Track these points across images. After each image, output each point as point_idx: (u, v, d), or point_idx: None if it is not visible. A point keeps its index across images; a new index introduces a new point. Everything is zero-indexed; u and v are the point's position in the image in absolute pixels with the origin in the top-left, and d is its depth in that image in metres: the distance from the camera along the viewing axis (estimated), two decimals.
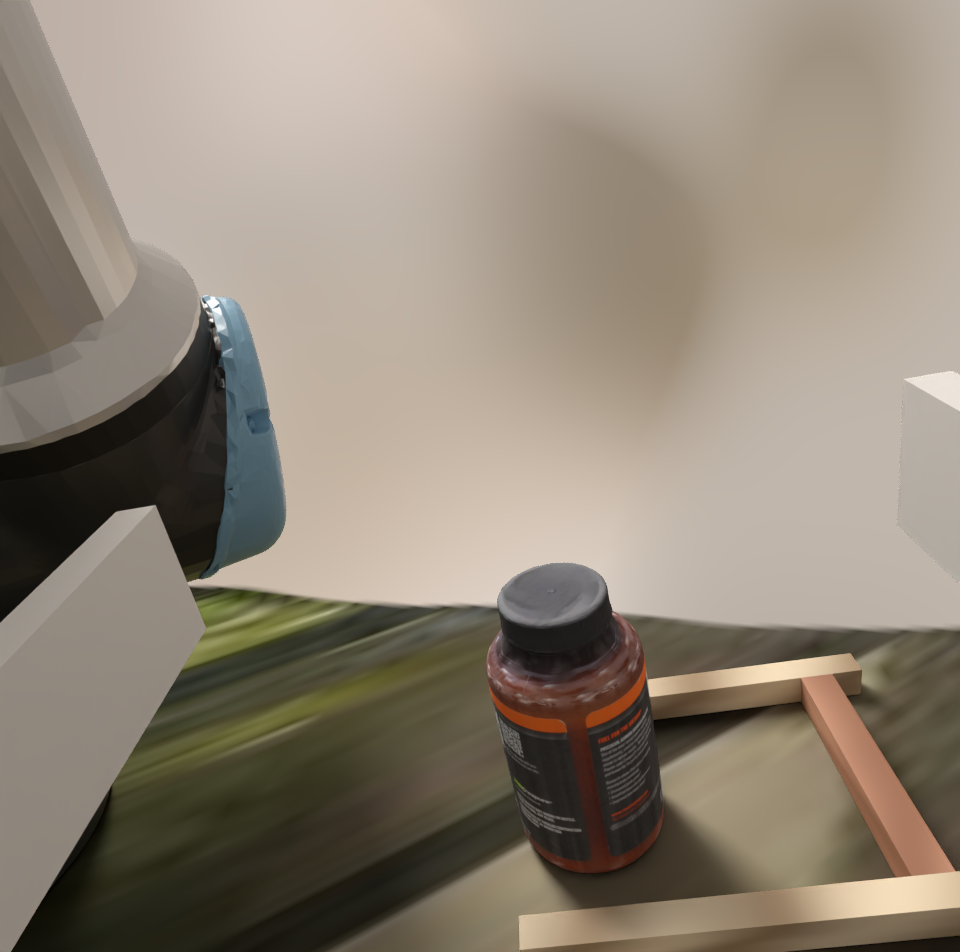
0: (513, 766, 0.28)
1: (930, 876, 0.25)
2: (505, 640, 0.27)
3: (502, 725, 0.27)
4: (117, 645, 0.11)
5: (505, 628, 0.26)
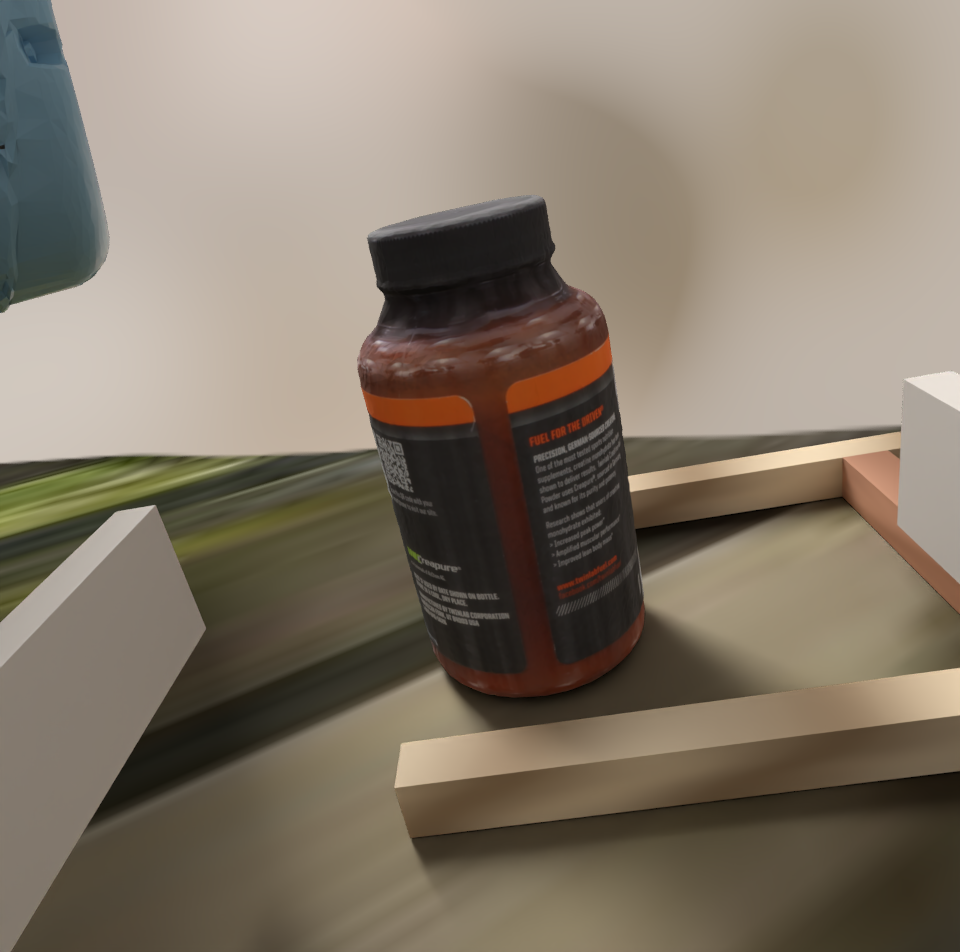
0: (403, 523, 0.17)
1: None
2: (383, 305, 0.17)
3: (381, 447, 0.17)
4: (117, 645, 0.11)
5: (377, 267, 0.16)
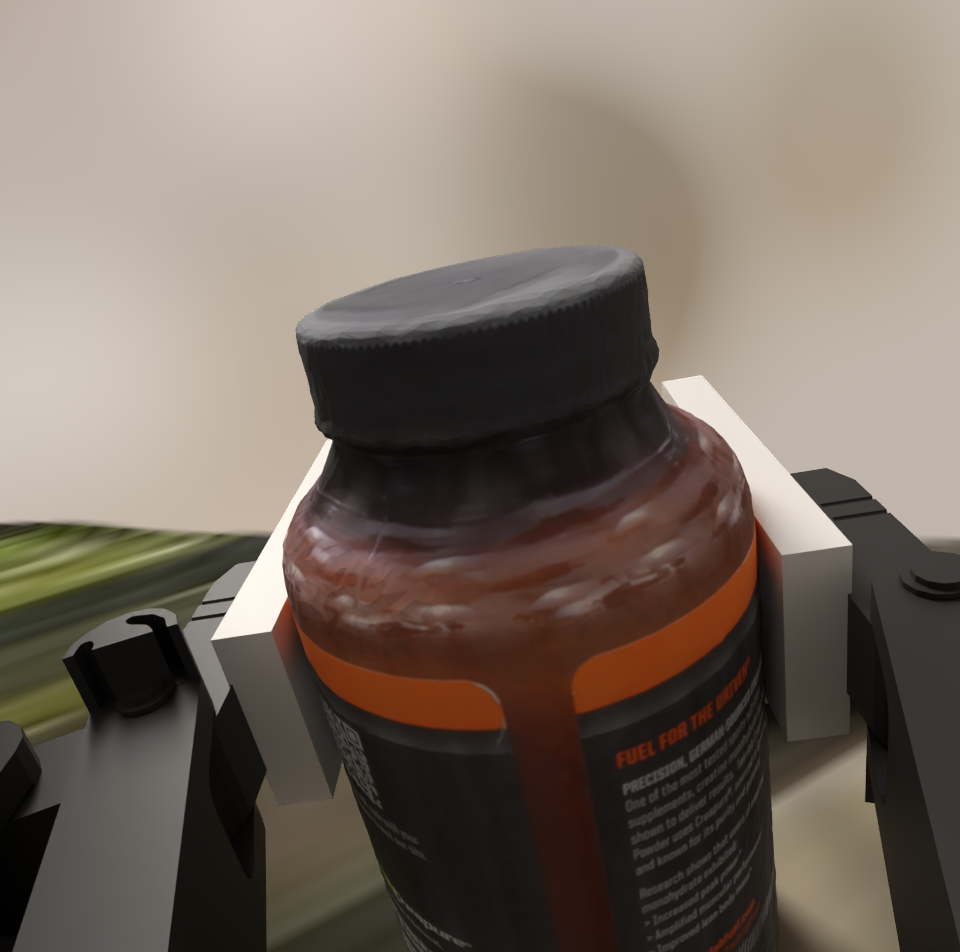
0: (367, 829, 0.10)
1: None
2: (330, 449, 0.09)
3: (325, 710, 0.09)
4: None
5: (312, 390, 0.08)
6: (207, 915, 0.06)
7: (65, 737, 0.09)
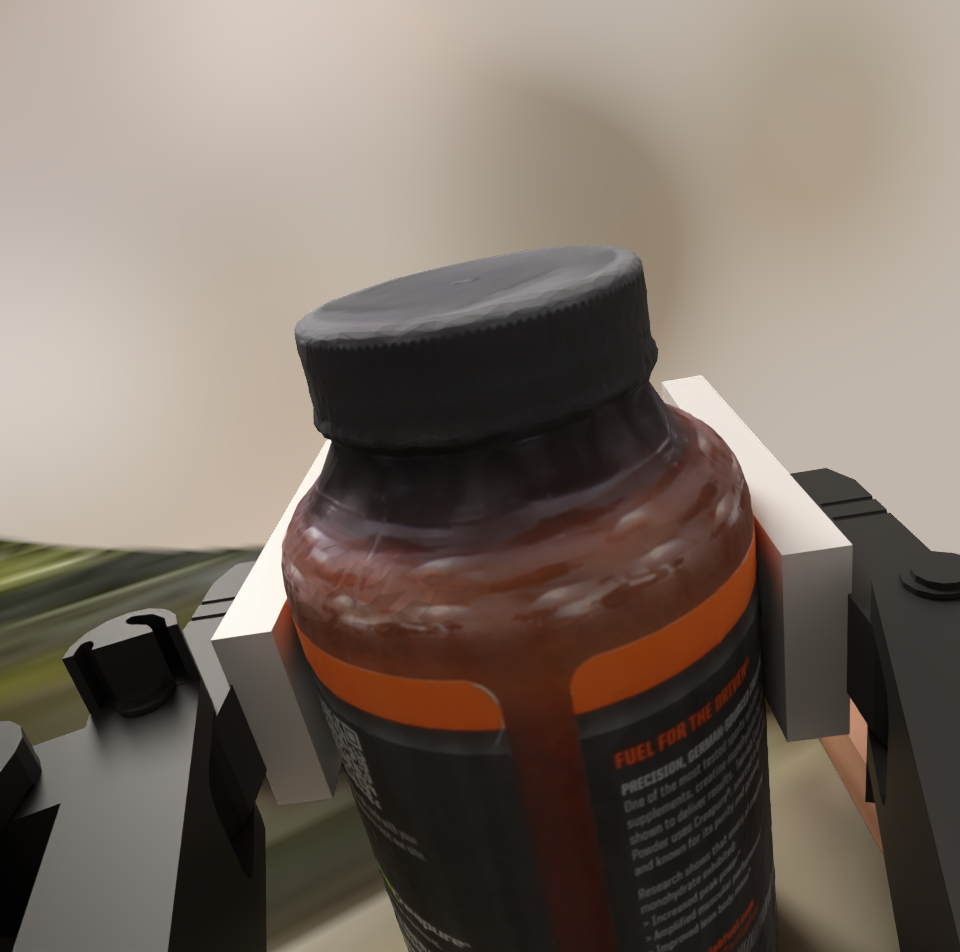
0: (367, 829, 0.10)
1: None
2: (329, 450, 0.09)
3: (324, 710, 0.09)
4: None
5: (311, 390, 0.08)
6: (207, 915, 0.06)
7: (65, 737, 0.09)
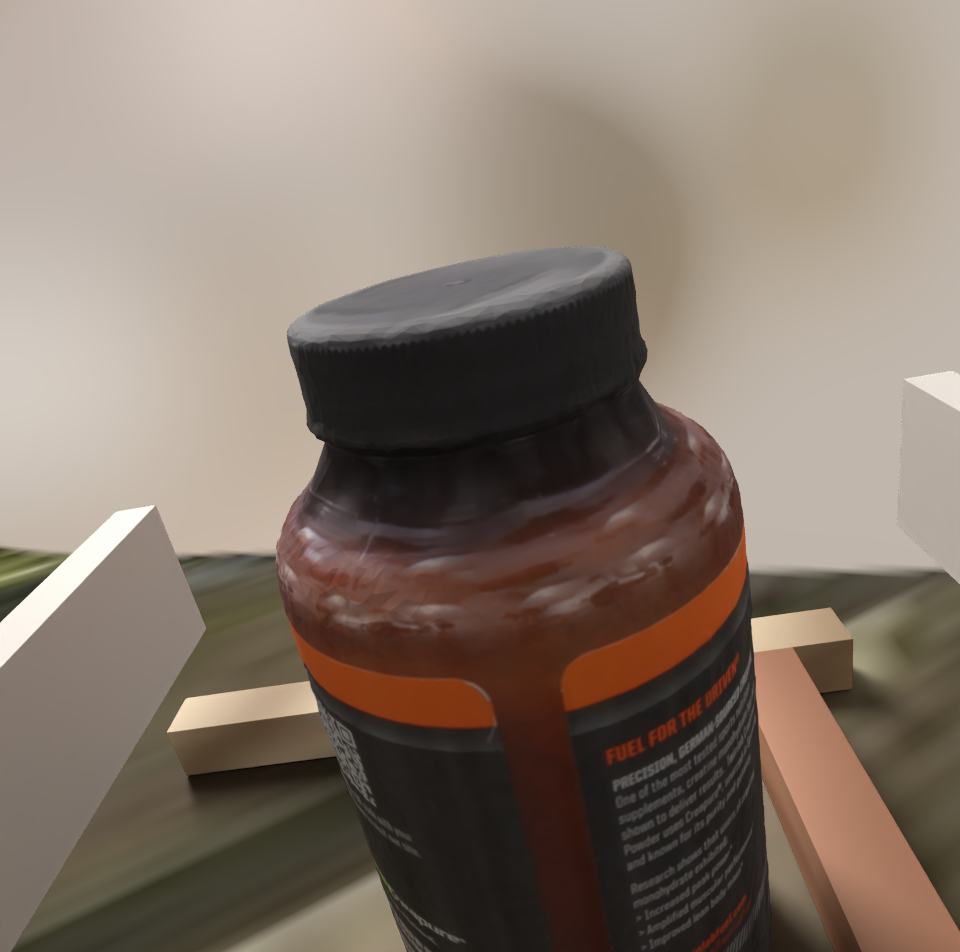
0: (363, 827, 0.10)
1: None
2: (322, 451, 0.09)
3: (319, 709, 0.09)
4: (117, 645, 0.11)
5: (304, 392, 0.08)
6: None
7: None
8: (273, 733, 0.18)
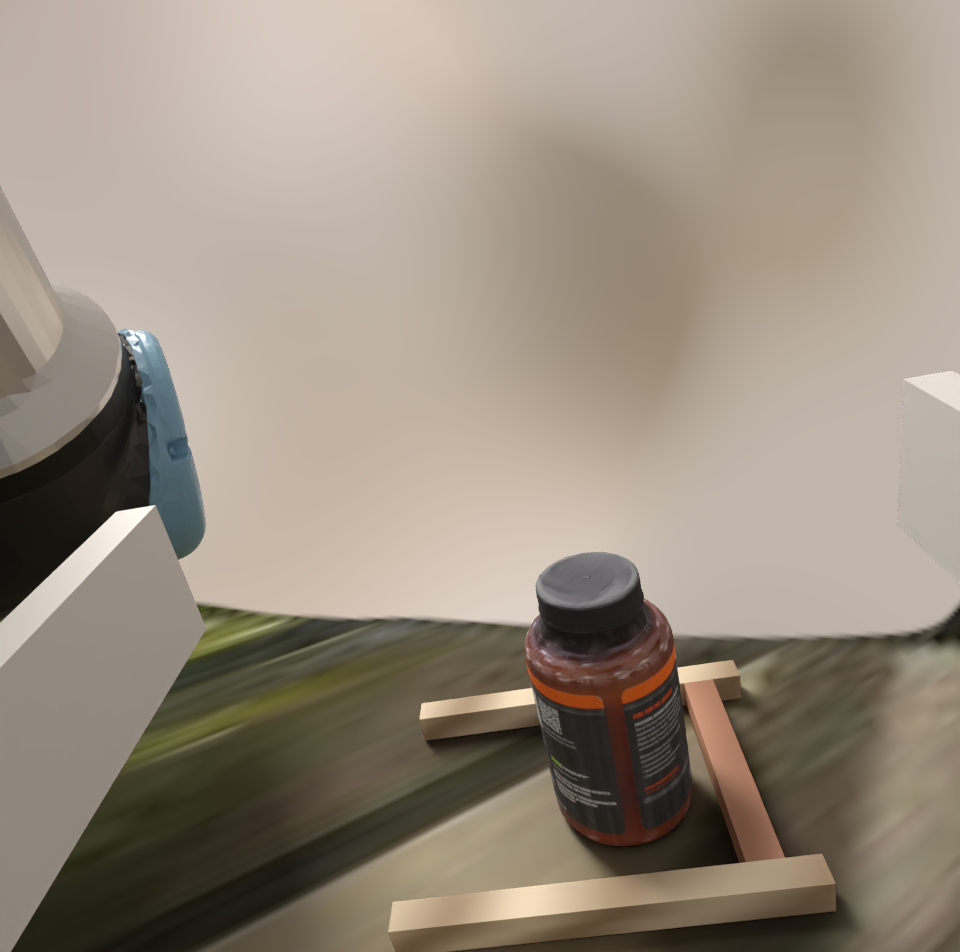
0: (551, 744, 0.29)
1: (763, 862, 0.27)
2: (543, 624, 0.29)
3: (541, 704, 0.29)
4: (117, 645, 0.11)
5: (544, 612, 0.28)
6: None
7: None
8: (470, 719, 0.37)
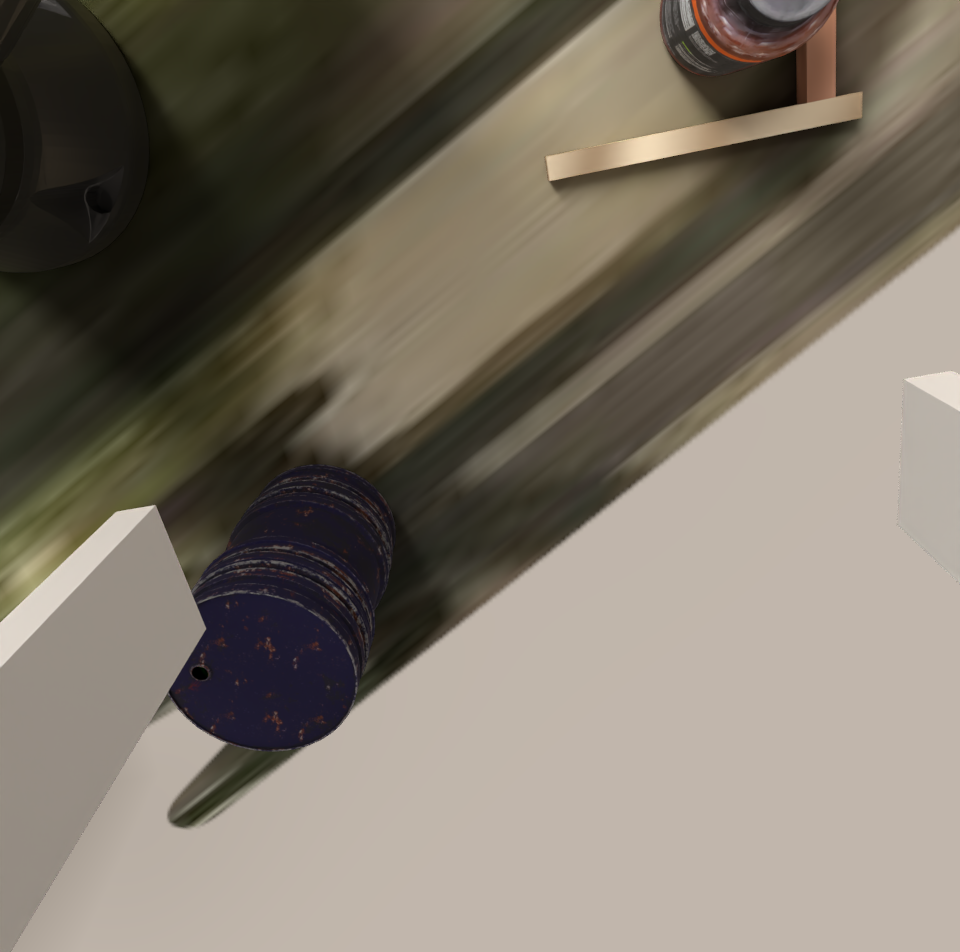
0: (689, 44, 0.33)
1: (818, 100, 0.37)
2: None
3: (698, 35, 0.32)
4: (117, 645, 0.11)
5: (743, 0, 0.28)
6: None
7: None
8: None
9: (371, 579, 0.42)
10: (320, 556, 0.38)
